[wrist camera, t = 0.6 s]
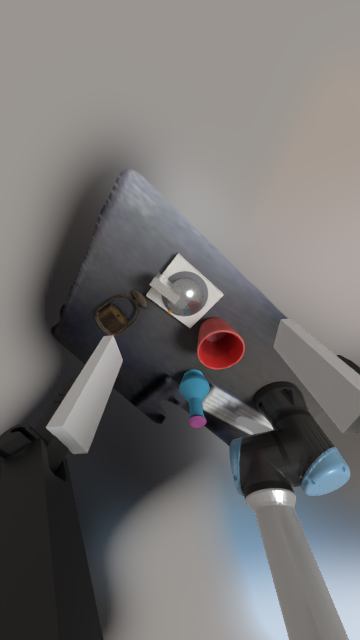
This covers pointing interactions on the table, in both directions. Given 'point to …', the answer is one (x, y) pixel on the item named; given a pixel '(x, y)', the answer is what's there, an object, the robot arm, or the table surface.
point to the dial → (179, 294)
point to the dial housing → (186, 270)
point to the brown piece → (118, 315)
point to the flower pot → (219, 344)
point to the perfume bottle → (195, 396)
